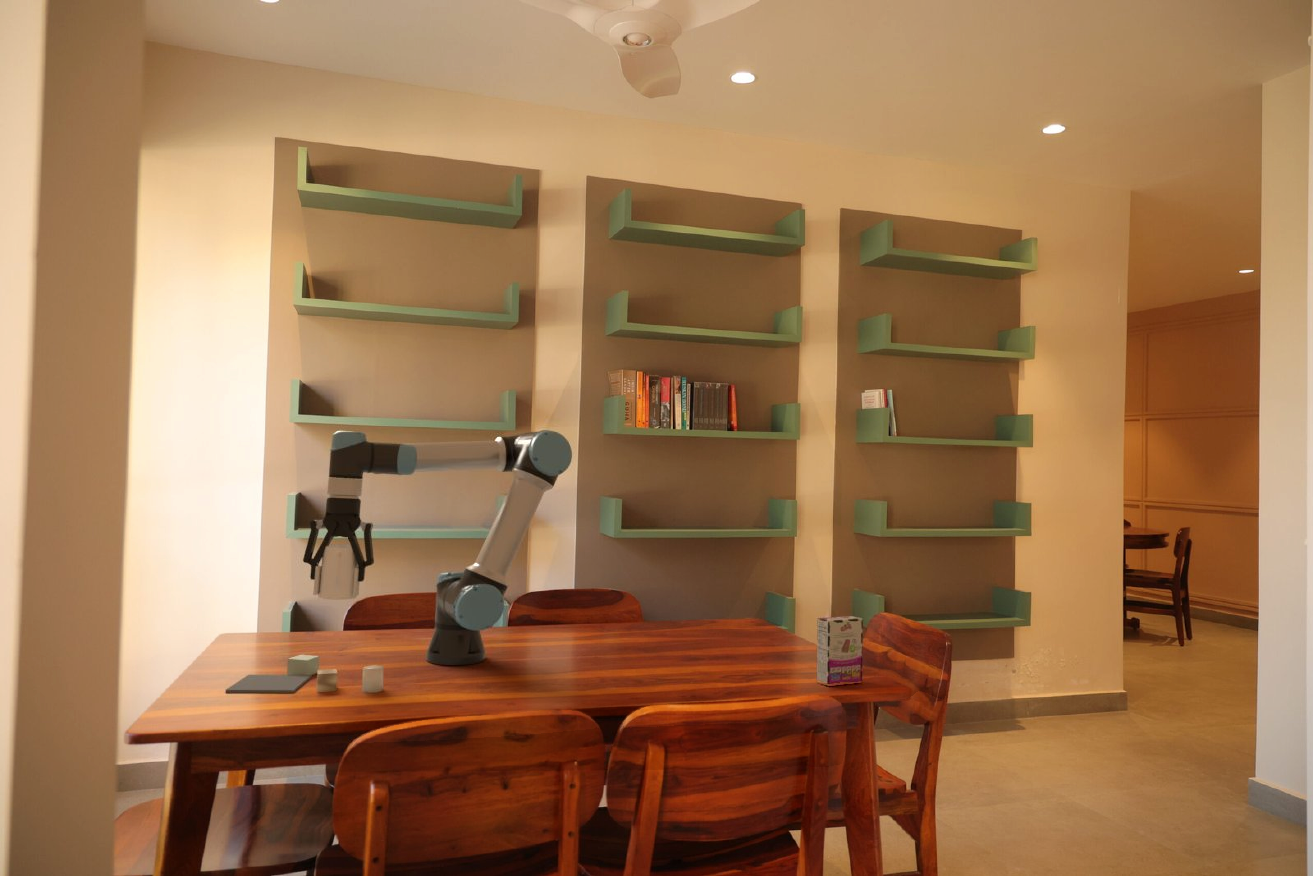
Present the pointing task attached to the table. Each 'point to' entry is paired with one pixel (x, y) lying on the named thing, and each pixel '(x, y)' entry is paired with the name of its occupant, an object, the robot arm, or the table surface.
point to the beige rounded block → (372, 679)
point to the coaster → (269, 684)
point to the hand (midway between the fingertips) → (336, 594)
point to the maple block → (326, 680)
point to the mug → (337, 573)
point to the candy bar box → (839, 649)
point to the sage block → (303, 665)
